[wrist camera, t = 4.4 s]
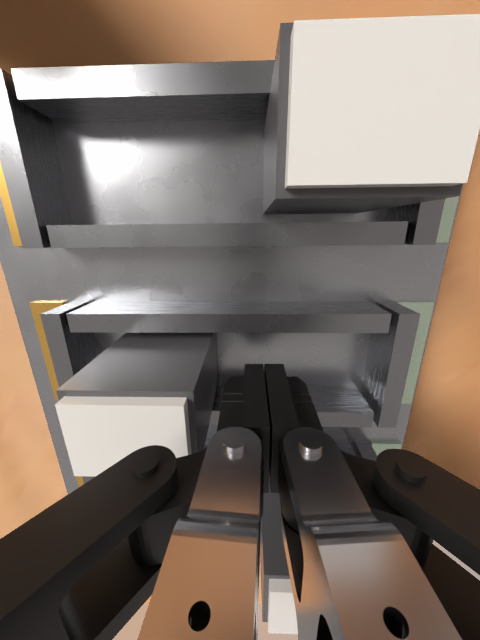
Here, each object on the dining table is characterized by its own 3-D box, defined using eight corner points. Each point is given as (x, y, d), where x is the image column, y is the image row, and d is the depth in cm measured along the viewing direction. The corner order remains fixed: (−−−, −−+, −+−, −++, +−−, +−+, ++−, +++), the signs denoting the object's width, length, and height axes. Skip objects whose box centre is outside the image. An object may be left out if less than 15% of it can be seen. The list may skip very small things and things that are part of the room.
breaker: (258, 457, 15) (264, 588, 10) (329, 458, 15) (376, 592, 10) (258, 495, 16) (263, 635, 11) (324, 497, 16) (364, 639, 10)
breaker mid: (133, 326, 13) (45, 398, 7) (215, 326, 13) (190, 399, 7) (141, 380, 14) (69, 480, 8) (217, 380, 14) (196, 483, 8)
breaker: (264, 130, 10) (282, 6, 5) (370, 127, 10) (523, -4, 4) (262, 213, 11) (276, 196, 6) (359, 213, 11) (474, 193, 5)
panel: (-13, 109, 12) (-117, 59, 8) (456, 97, 11) (547, 38, 8) (85, 486, 19) (49, 541, 15) (375, 492, 18) (404, 552, 15)
